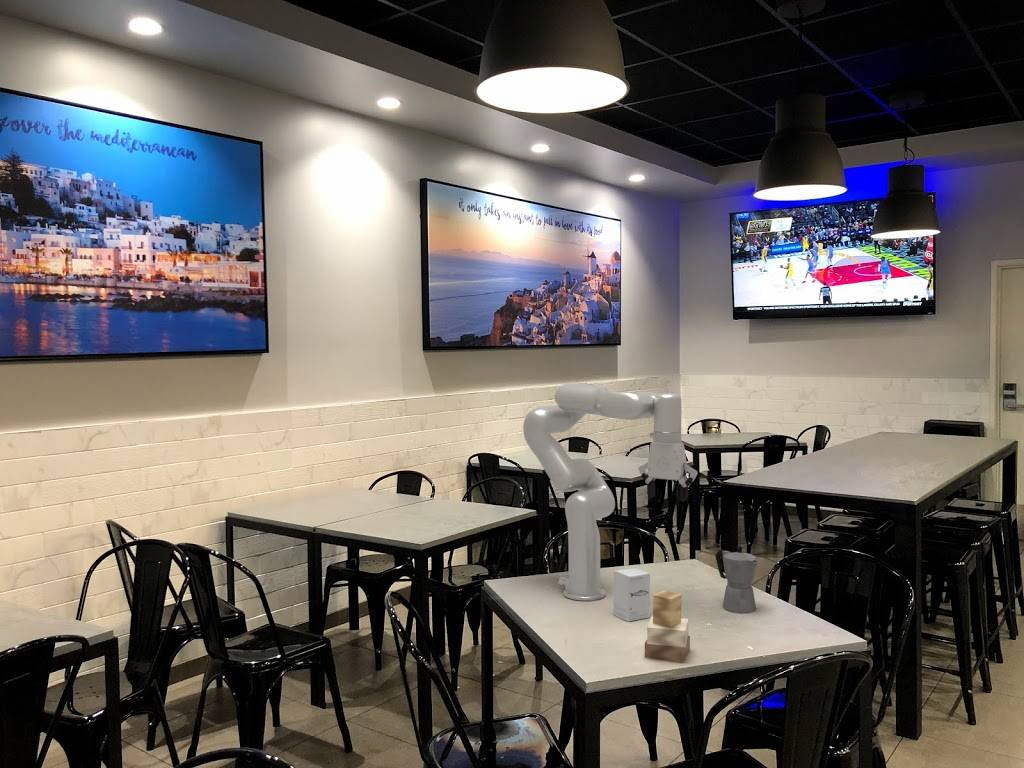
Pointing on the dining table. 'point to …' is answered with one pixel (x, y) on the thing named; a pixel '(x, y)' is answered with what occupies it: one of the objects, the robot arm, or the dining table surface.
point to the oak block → (667, 609)
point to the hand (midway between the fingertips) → (667, 498)
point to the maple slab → (668, 634)
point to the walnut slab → (667, 652)
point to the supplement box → (631, 594)
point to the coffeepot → (738, 580)
